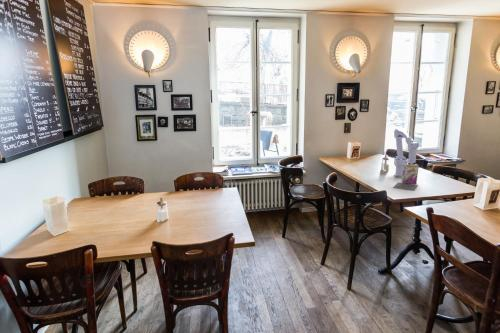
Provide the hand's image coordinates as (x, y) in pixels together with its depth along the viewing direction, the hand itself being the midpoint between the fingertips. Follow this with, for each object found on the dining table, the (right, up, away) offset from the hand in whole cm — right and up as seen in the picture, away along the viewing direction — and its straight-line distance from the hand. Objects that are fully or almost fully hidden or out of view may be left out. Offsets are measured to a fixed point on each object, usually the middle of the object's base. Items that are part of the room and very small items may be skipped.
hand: (411, 171), depth 279 cm
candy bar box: (-3, -10, -2) cm, 11 cm away
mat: (-10, -13, -12) cm, 20 cm away
